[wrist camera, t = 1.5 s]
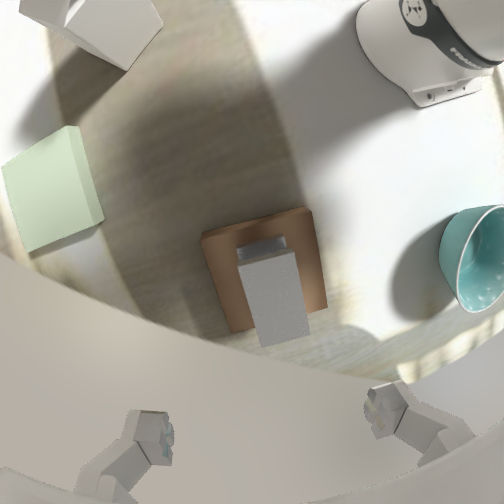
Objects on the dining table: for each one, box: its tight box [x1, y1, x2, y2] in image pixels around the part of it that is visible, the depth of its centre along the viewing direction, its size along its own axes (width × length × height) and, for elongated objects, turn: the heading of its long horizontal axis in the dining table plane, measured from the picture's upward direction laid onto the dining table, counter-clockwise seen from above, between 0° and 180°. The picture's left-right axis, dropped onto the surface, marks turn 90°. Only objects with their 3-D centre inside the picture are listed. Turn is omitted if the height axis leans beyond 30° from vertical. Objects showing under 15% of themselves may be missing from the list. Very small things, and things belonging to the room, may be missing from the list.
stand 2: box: [200, 206, 328, 333], centre depth 33 cm, size 12×12×3 cm
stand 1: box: [1, 125, 105, 253], centre depth 28 cm, size 12×12×3 cm
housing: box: [236, 233, 310, 347], centre depth 29 cm, size 5×9×6 cm, turn 14°
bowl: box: [439, 205, 504, 313], centre depth 32 cm, size 16×16×8 cm
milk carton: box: [19, 0, 164, 71], centre depth 15 cm, size 7×7×19 cm
